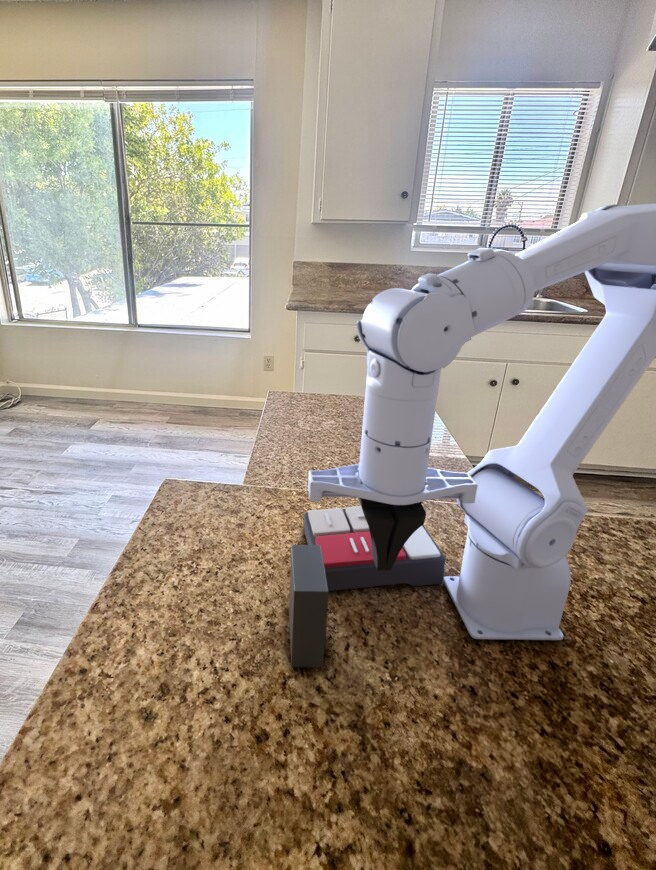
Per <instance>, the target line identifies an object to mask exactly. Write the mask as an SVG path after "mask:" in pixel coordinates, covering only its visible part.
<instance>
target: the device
mask: <svg viewBox="0 0 656 870" xmlns="http://www.w3.org/2000/svg"><path fill="white" fill-rule="evenodd" d="M289 575H290V576H289V603H288V605H289V606H288V622H289V623H288V624H289V646H290V666H291V667H290V668H318V669H319V668H320V669H321V668H323V667H324V657H325V656H324V655H325V650H326V638H327V625H328V624H327V623H328V622H327V621H328V608H329V592H330V591H328V586H327V580H326V573H325V567H324V561H323V555H322V551H321V546H320V545H308V544H291V545H290V573H289Z"/></svg>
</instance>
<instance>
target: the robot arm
mask: <svg viewBox="0 0 656 870" xmlns="http://www.w3.org/2000/svg"><path fill="white" fill-rule="evenodd" d="M467 258H468V259H467V260H468V261H465V262H463V263H461V264H459V265H457V266H454V267H452V268H450V269H447V270H445V271H443V272H440V273H439V274H436V273H429V272H427V273H426V274H423V275H421V276H419V278H418V279H417V282H418V283H417V284H415V285H414V286H413V287H412V289H406V288H400V287H393V288H392V287H391V288H388V289H385V290H383V291H381V292H379V293H378V294H377V295H375V296H374V297H373V298H371V300H372V301H371V302H370V303H368V304H367V306H366V308H365V310H364V313H363V315H362V319H359V320H357V321H356V331H357V337H358V339H359V341H360V342H361V345H362V346H363V347H364V348H365V350H366V367H367V369H366V381H365V392H364V405H363V414H362V415H363V416H362V428H361V441H360V451H359V453H360V454H359V463H356V464H349V465H344V466H340V467H334V468H328V469H320V470H309V471H308V477H307V478H308V479H307V480H308V481H307V491H308V492H307V493H308V499H309V502H321V501H322V500H323V498H357V499H358V501H359V504H360V506H361V507H362V510H363V513H364V516H365V519H366V521H367V523H368V526H369V530H370V536H371V542H372V556H373V559H374V562H375V565H376V568H377V570H392V568H393V565H394V563H395V561H396V558H397V556H398V555H399V553H400V551H401V549H402V547H403V546H404V544H405V543H406V541H407V540H408V539H409V538H410V536H411V535H412V534H413V533H414V532H415V531H416V530H417V529H418V528H420V527H421V526H422V525H424V524H425V522H426V517H427V512H426V509H425V508H424V506H423V502H427V501H431V500H437V499H441V500H443V499H444V500H445V499H446V500H456V503H457V506H458V507H459V509H460V510H462V512H464V513H465V515H464V520H463V523H464V524H465V525H466V527H467V533H466V540H465V545H464V549H463V557H462V562H461V566H460V573H459V576H458V575H457V576H454V575H453V576H449V575H447V576H446V575H444V577H443V582H442V583H443V584H444V586H445V589H446V590H447V592H448V594H449V596H450V598H451V600H452V602H453V604H454V607H455V608H456V610H457V612H458V614H459V616H460V617H461V621H462V622H463V624H464V626H465V628H466V630H467V632H468V634H469V635H470V637H471V638H472V639H474V640H513V641H515V640H516V641H517V640H518V641H519V640H520V641H521V640H523V641H524V640H525V641H562V640H563V639H564V636H565V635H564V633H563V631H562V630H561V629H560V626H561V622H562V618H563V614H564V612H565V611H564V610H565V607H566V604H567V600H568V596H569V592H570V589H571V583H572V575H571V574H572V573H571V568H570V564H569V561H568V558H567V556H566V555H567V554H568V553H569V552H570V551H571V549H572V547H573V545H574V543H575V540H576V538H577V537H576V536H577V532H578V529H579V527H580V525H581V523H582V522H583V520H584V518H585V516H586V514H587V513H588V507H587V504H586V502H585V499H584V497H583V495H582V494H581V492H580V489H579V487H578V485H577V482H576V481H575V479H574V476H573V475H574V474H575V473H576V471H577V469H579V467H580V465H581V464H582V463H583V461H584V460H585V458H586V457H587V455H588V454H589V453H590V451H591V450H592V448H593V447H594V445H595V444H596V443H597V441H598V440H599V438H600V437H601V435H602V434H603V432H604V431H605V430H606V428H607V427H608V425H609V424H610V423H611V421H612V420H613V419H614V417H615V415H616V414H617V413H618V411H619V410H620V409H621V407H622V405H623V404H624V403H625V402H626V400H627V399H628V398H629V396H630V394H631V393H632V392H633V390H634V389H635V387H636V386H637V385H638V383H639V382H640V380H641V379H642V377H643V376H644V374H645V373H646V372H647V370H648V369H649V367H650V366H651V365H652V363H653V361H654V360H655V359H656V203H643V204H629V205H628V204H627V205H620V204H607V205H605V206H601V207H599V208H597V209H595V210H592V211H587V212H584V213H582V214H581V217H580V218H579V220H578V221H576V222H575V223H574V222H573V224H571V225H569V226H567V227H565V228H563V229H561V230H560V231H557V232H556V233H554V234H551V235H550V236H548V237H546V238H545V239H542V240H540V241H539V242H536V243H535V244H533V245H531V246H529V247H528V248H525V249H523V250H522V251H520V252H518V253H516V254H514V252H513V253H512V252H510V251H507V250H504V249H494V248H491V247H479V248H477V249H474V250H472V251H470V252H468V253H467ZM583 273H584V275H585V277H586V279H587V283H588V285H589V288H590V290H591V292H592V295H593V297H594V299H596V300H597V301H598V302H600V303H601V304H603V305H604V308H605V315H604V316H603V318H602V320H601V321H600V322H599V324H598V326H597V327H596V328H595V330H594V331H593V333H592V334H591V336H590V337H589V339H588V340H587V342H586V343H585V344H584V346H583V348H582V349H581V351H580V352H579V353H578V355H577V356H576V358H575V360H574V361H573V362H572V364H571V365H570V367H569V368H568V369H567V371H566V373H565V374H564V376H563V377H562V379H561V380H560V381H559V383H558V384H557V386H556V387H555V389H554V390H553V392H552V394H551V395H550V396H549V398H548V399H547V401H546V402H545V403H544V405H543V406H542V407H541V410H540V411H539V412H538V414H537V415H536V417H535V419H534V420H533V421H532V423H531V424H530V425H529V427H528V428H527V430H526V432H525V433H524V434H523V436H522V438H521V439H520V441H519V442H518V443H517V444H516V445H512V446H507V447H499V448H495V449H490V450H489V451H488V452H487V453H486V454H485V456H484V458H483V459H482V460H481V461H480V462H479V463H478V464H477V465H476V466H474V467H473V468H472V469H470V470H469V471H467V472H460V471H459V472H457V471H451V470H450V471H449V470H443V469H437V468H433V467H429V460H430V453H431V447H432V438H433V429H434V425H435V418H436V417H435V416H436V409H437V401H438V395H439V387H440V379H441V372H442V369H445V368H447V367H448V366H449V365H450V364H451V363H452V362H453V361H454V360H455V359H456V357H457V356H458V355H459V354H460V351H461V350H462V348H463V347H464V345H465V344H466V343H467V342H470V341H472V338H473V337H475V336H477V335H479V334H482V333H484V332H485V331H488V330H489V329H491V328H494V327H496V326H498V325H500V324H502V323H504V322H506V321H508V320H510V319H512V318H514V317H517V316H519V315H521V314H522V313H525V311H527V309H528V308H529V307H530V305H531V304H532V302H533V300H534V296H535V293H536V292H537V291H540V290H542V289H545V288H548V287H550V286H553V285H555V284H557V283H560V282H562V281H565V280H567V279H570V278H572V277H576V276H578V275H580V274H583ZM516 478H520V479H522V480H524V481H525V482H526V483H528V484H529V485H531V486H532V487H534V488H535V489H537V490H538V491H539V492H540V493H541V494H542V495H543V496H542V495H540V494H539V493H537V492H536V491H534V490H532V489H531V488H529V487H528V486H526V485H525V484H524V483H522V482H520V481H518V480H517V479H516Z"/></svg>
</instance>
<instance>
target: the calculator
mask: <svg viewBox="0 0 656 870" xmlns="http://www.w3.org/2000/svg"><path fill="white" fill-rule="evenodd" d="M303 525H304V526H303V527H304V529H303V530H304V531H303V532H304V535H305V539H306V545H320V546H321V551H322V555H323V561H324V567H325V573H326V580H327V586H328V592H332V591H333V592H334V591H343V590H351V589H352V590H353V589H361V588H372V587H379V586H390V585H392V586H393V585H400V584H408V585H410V586H412V587H421V586H429V585H439V584H440V585H441V584H442V583H444V582H443V578H444V577H445V566H446V556H445V555H444V554H443V552H442V550H441V549H440V548H439V546H438V544H437V543H436V542H435V540H434V538H433V536H432V535H431V534H430V532H429V531H428V529H427V528H426V527H425V525H424V524H423V525H422V526H421V527H420V528H418V529H417V530H416V531H415V532H414V533H413V534H412V535H411V536H410V538H409V539H408V540H407V541H406V543H405V544H404V546H403V547H402V549H401V551H400V553H399V555H398V556H397V558H396V561H395V563H394V565H393V568H392V570H377V568H376V565H375V562H374V559H373V556H372V542H371V536H370V530H369V526H368V523H367V521H366V519H365V516H364V513H363V510H362V507H361V505H357V506H347V507H345V508H342V507H334V508H323V509H312V510H311V509H310V510H308V511H306V512H304V514H303Z"/></svg>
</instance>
